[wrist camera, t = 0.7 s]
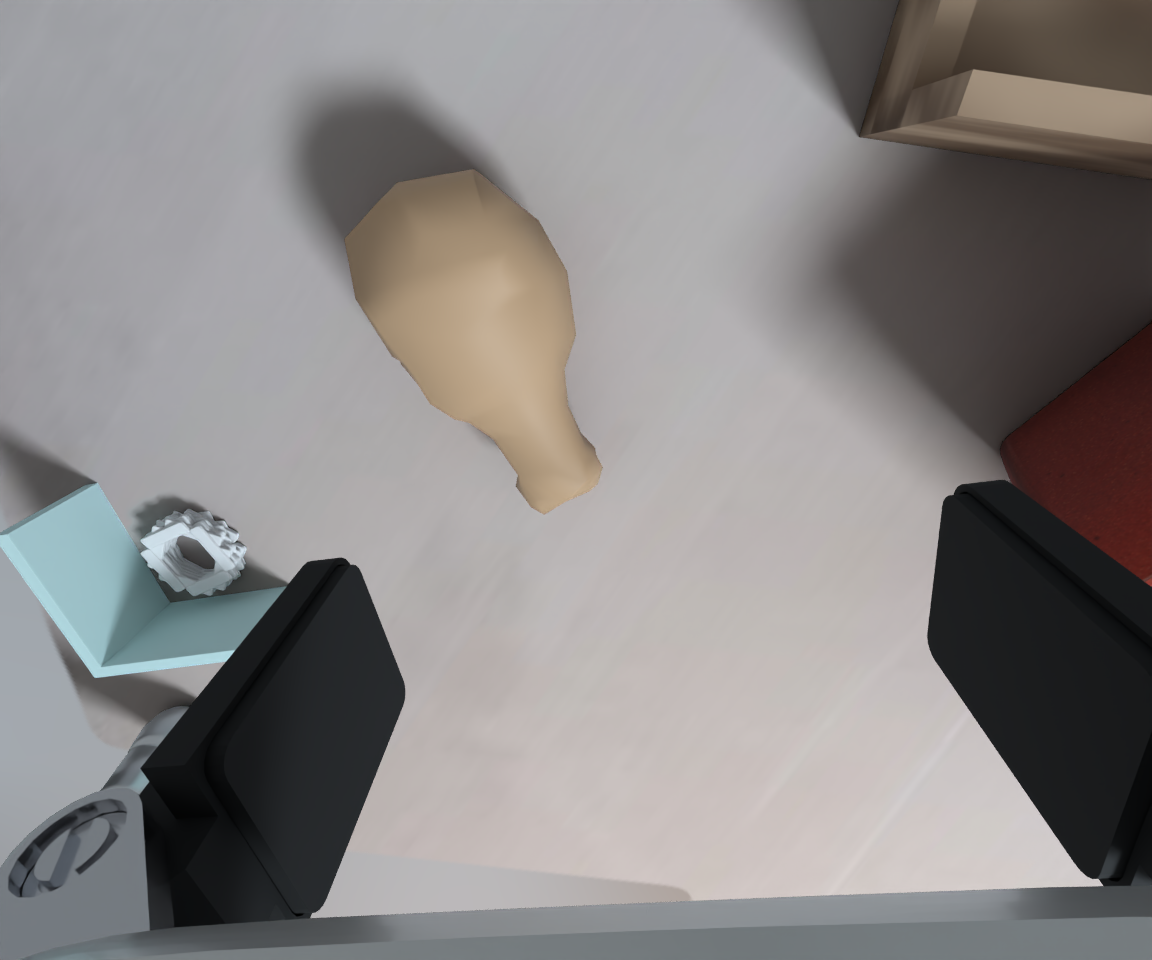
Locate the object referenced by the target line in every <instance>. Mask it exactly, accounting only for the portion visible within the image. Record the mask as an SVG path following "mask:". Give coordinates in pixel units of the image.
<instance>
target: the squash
mask: <svg viewBox="0 0 1152 960" xmlns="http://www.w3.org/2000/svg"><path fill="white" fill-rule="evenodd" d="M344 240H345V245H346V250H347V256H348V261H349V266H350V272H351V277H352V282H353V288H354V293H355V298H356V300H357V302H358V303H359V305H360V306H361V308H362V310H363V311H364V313H365V314H366V316H367V317H368V319H369V321H370V322H371V324H372V325H373V327H374V329H375V330H376V332H377V333H378V335H379V336H380V338H381V340H382V341H383V343H384V344H385V346H386V347H387V349H388V351H389V352H390V354H391V355H392V357H394V358H396V359H397V360H399V361H400V362H401V365H402V366H403V367H404V368H405V369H406V371H407V372H408V373H409V374H410V376H411V377H412V378H413V379H414V380H415V382H416V383H417V384H418V385H419V387H420V388H421V390H422V392H423V393H424V395H425V396H426V398H427V400H428V401H429V403H430V404H431V405H433V406H434V407H436V408H437V409H439V410H441V411H442V412H444V413H445V414H447V415H448V416H450V417H452V418H453V419H455V420H460V421H464V422H468V423H470V424H471V425H473V426H474V427H476V428H477V429H479V430H480V431H482V432H483V433H485V434H486V435H488V436H489V437H491V438H492V439H493V440H494V441H495V443H496V444H497V446H498V447H499V449H500V450H501V451H502V453H503V454H504V456H505V457H506V459H507V460H508V461H509V463H510V464H511V466H512V467H513V469H514V470H515V471H516V473H517V474H518V478H517V483H516V487H517V489H518V490H519V491H520V493H521V494H522V495H523V497H524V498H525V499H526V501H527V502H528V504H529V505H530V506H531V508H533V509H535V510H537V511H539V512H540V513H542V514H544V515H545V514H546V513H548V512H549V511H551V510H553V509H554V508H556V507H558V506H559V505H561V504H562V503H564V502H566V501H568V500H570V499H573V498H575V497H577V496H580V495H582V494H584V493H587V492H589V491H590V490H591V489H592V488H594V487H595V486H596V485H597V484H598V481H599V478H600V475H601V471H602V468H603V467H602V465H601V463H600V461H599V460H598V458H597V456H596V452H595V448H594V446H593V445H592V444H591V443H590V442H589V441H588V440H587V439H586V438H585V437H584V436H583V435H582V434H581V432H580V430H579V428H578V426H577V424H576V421H575V419H574V417H573V415H572V413H571V411H570V409H569V407H568V400H567V390H566V381H565V371H564V369H565V366H566V363H567V360H568V357H569V354H570V351H571V348H572V345H573V342H574V339H575V336H576V331H575V324H574V317H573V310H572V303H571V296H570V289H569V282H568V275H567V270H566V269H565V267H564V265H563V263H562V262H561V260H560V258H559V256H558V254H557V253H556V251H555V249H554V247H553V246H552V244H551V242H550V240H549V238H548V237H547V235H546V233H545V231H544V229H543V228H542V226H541V224H540V222H539V221H538V220H537V219H536V218H535V217H533V216H532V215H531V214H530V213H528V212H527V211H526V210H525V209H524V208H522V207H521V206H520V205H519V204H517V203H516V202H515V201H514V200H512V199H511V198H510V197H509V196H507V195H506V194H505V193H504V192H502V191H501V190H500V189H499V188H497V187H496V186H495V185H494V184H492V183H491V182H490V181H489V180H487V179H486V178H485V177H484V176H482V175H481V174H480V173H479V172H477V171H476V170H474V169H471V170H465V171H459V172H454V173H448V174H442V175H436V176H431V177H425V178H419V179H413V180H408V181H402V182H397V183H396V184H395V185H394V186H393V187H392V188H391V189H390V190H389V191H388V192H387V193H386V194H385V195H384V196H383V197H382V198H381V199H380V200H379V201H378V203H377V204H376V205H375V206H374V207H373V208H372V209H371V210H370V211H369V212H368V213H367V215H366V216H365V217H364V218H363V219H362V220H361V221H360V222H359V223H358V224H357V226H356V227H355V228H354V229H353V230H352V231H351V232H350V233H349V234H348V235H347V237H346V238H345V239H344Z"/></svg>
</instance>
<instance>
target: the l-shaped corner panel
mask: <svg viewBox="0 0 1152 960" xmlns="http://www.w3.org/2000/svg"><path fill="white" fill-rule="evenodd" d="M181 535H183V536H186V537H189V538H192V539H195V540H197V541H198V542H199V543H200V544H201V545H202V546H203V547H204V548H205V550H206V551H207V552H208V553H209V554H210V555H211V556H212V558H213V559H214V560H215V566H214V569H207V570H206V569H204V568H202V567H200V566H198V565H197V564H195V563H193V562H191V561H189V560H187V559H185V558H184V557H183V555H182V553H181V551H180V549H179V547H178V545H177V543H176V542H177V539H178V537H179V536H181ZM145 536H146V537H144V538H141V540H140V541H141V542H142V543H143V544H144V545H145V546H146V547H147V548H146V549H145V550H143V551H142V552H141V553H140V552H139V551H138V549H137V547H136V546H135V544H134V542H133V541H132V539H131V537H130V536H129V534H128V532H127V531H126V529H125V527H124V526H123V524H122V523H121V521H120V519H119V518H118V516H117V514H116V513H115V511H114V509H113V508H112V506H111V504H110V503H109V501H108V499H107V498H106V496H105V494H104V493H103V491H102V489H101V488H100V486H99V484H98V483H95V484H89V485H85V486H83V487H81V488H79V489H77V490H76V491H74V492H72V493H70V494H68V495H67V496H65V497H63V498H61V499H60V500H58V501H56V502H54V503H52V504H51V505H49V506H47V507H45V508H43V509H42V510H40V511H38V512H36V513H34V514H33V515H31V516H29V517H27V518H26V519H24V520H22V521H20V522H18V523H17V524H15V525H13V526H11V527H9V528H8V529H6V530H4V531H3V532H1V533H0V547H1V548H2V549H3V551H4V552H5V553H6V555H7V556H8V558H9V559H10V561H11V562H12V563H13V565H14V566H15V567H16V569H17V570H18V572H19V573H20V574H21V576H22V577H23V579H24V580H25V581H26V583H27V584H28V586H29V587H30V589H31V590H32V591H33V593H34V594H35V595H36V597H37V598H38V600H39V601H40V602H41V604H42V605H43V607H44V608H45V609H46V611H47V612H48V614H49V615H50V616H51V618H52V619H53V621H54V622H55V623H56V625H57V626H58V628H59V629H60V630H61V632H62V633H63V634H64V636H65V637H66V639H67V640H68V641H69V643H70V644H71V646H72V647H73V648H74V650H75V651H76V653H77V654H78V655H79V657H80V658H81V660H82V661H83V662H84V664H85V665H86V666H87V668H88V669H89V671H90V672H91V673H92V675H93V676H94V678H99V677H107V676H115V675H123V674H131V673H139V672H147V671H155V670H163V669H171V668H179V667H187V666H195V665H203V664H211V663H219V662H226V661H227V660H228V659H229V657H230V656H231V655H232V654H233V652H234V651H235V650H236V649H237V647H238V646H239V645H240V644H241V643H242V641H243V640H244V639H245V638H246V636H247V635H248V634H249V633H250V631H251V630H252V629H253V628H254V626H255V625H256V624H257V623H258V621H259V620H260V619H261V618H262V616H263V615H264V614H265V613H266V612H267V610H268V609H269V608H270V607H271V605H272V604H273V603H274V602H275V600H276V599H277V598H278V597H279V595H280V594H281V593H282V592H283V590H284V589H285V588H286V587H287V586H285V587H278V588H270V589H263V590H256V591H249V592H242V593H235V594H228V595H221V596H214V597H207V598H200V599H193V600H186V601H179V602H172V603H170V602H169V600H168V599H167V597H166V595H165V594H164V592H163V590H162V589H161V587H160V585H159V584H158V582H157V580H156V579H155V577H154V575H153V574H152V572H151V570H150V569H149V567H150V568H153V569H155V570H156V571H157V572H158V574H159V579H160V580H162V581H165V582H167V583H168V584H169V585H170V586H171V587H172V588H173V589H174V591H175V592H180V591H182V590H184V589H186V590H187V591H188V592H189V593H190V594H191V595H192V596H197V595H199V594H205V595H208V596H211V595H212V594H213V591H216V589H219V590H223V591H224V590H225V589H226V587H227V586H229V585H230V584H231V583H232V580H235V579H237V578H238V577H240V576H241V574H240V571H239V570H242V569H244V565H245V564H246V562H245V560H244V558H243V556H244V554H245V552H246V549H247V547H245V546H244V545H242V544H240V543H238V542H236V541H237V539H238V537H239V533H238V532H236V531H234V530H232V529H230V528H228V526H227V524H226V522H225V521H214V519H213V517H212V515H211V513H210V511H205V512H199V513H197V512H195V511H193V510H191V509H187V510H186V511H185V512H184V514H181V513H180V512H177V511H174V512H173V514H172V515H171V516H170V515H169V516H166V517H165V519H162V520H160V519H159V520H157V521H156V525H154V526H153V527H152V531H151V532H149V533H147V534H146V535H145ZM141 555H142V556H141ZM143 558H144V559H145V560H146V561H147V562H148V563H147V564H146V562H145V561H144V559H143Z"/></svg>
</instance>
